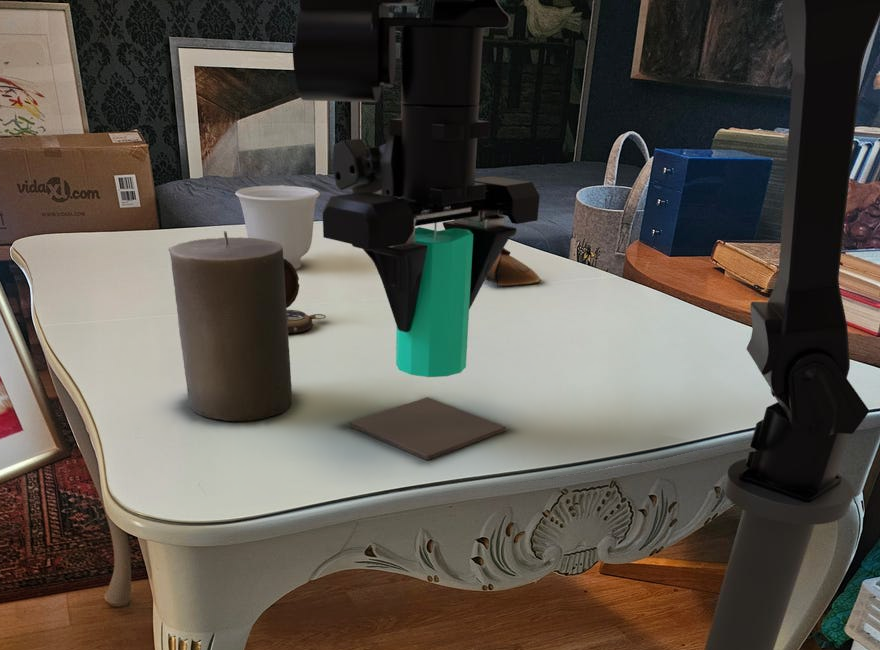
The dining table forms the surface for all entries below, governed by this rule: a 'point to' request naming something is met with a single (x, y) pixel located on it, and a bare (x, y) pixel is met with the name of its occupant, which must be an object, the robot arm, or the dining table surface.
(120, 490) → the dining table surface
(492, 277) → the sunglasses case
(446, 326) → the candle
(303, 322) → the compass
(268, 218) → the teacup
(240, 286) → the pillar candle
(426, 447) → the mat
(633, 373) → the dining table surface
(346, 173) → the robot arm
